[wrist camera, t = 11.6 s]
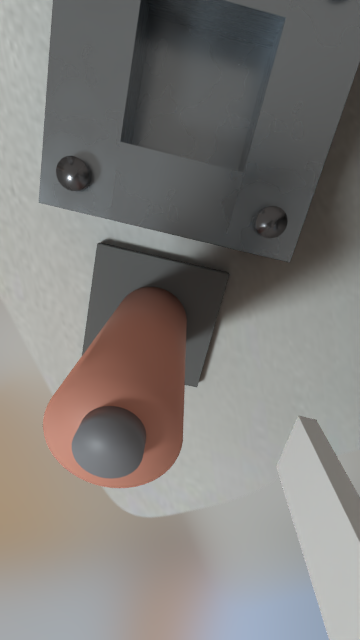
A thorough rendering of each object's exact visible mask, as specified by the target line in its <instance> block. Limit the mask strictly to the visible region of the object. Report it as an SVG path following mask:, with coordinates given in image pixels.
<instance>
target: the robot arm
mask: <svg viewBox="0 0 360 640" xmlns="http://www.w3.org/2000/svg"><path fill="white" fill-rule="evenodd" d="M276 467H277V471H278V474H279V477H280V480H281V483H282V487H283V490H284V494H285V497H286V500H287V503H288V507H289V510H290V513H291V516H292V520H293V523H294V526H295V529H296V533H297V536H298V539H299V542H300V546H301V549H302V552H303V556H304V559H305V562H306V565H307V568H308V572H309V575H310V578H311V582H312V585H313V588H314V591H315V595H316V598H317V601H318V604H319V608H320V611H321V614H322V617H323V621H324V624H325V627H326V631H327V634H328V637H329V640H360V497H359V495H358V493H357V492H356V490H355V488H354V486H353V485H352V483H351V481H350V479H349V477H348V476H347V474H346V472H345V470H344V469H343V467H342V465H341V463H340V461H339V460H338V458H337V456H336V454H335V452H334V451H333V449H332V447H331V445H330V444H329V442H328V440H327V438H326V436H325V435H324V433H323V431H322V429H321V427H320V426H319V424H318V422H317V420H315V419H311V418H306V417H302V416H298V417H297V420H296V422H295V424H294V427H293V429H292V431H291V434H290V436H289V438H288V441H287V443H286V445H285V448H284V450H283V452H282V455H281V457H280V459H279V462H278V464H277V466H276Z"/></svg>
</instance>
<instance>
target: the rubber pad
mask: <svg viewBox="0 0 360 640" xmlns="http://www.w3.org/2000/svg"><path fill="white" fill-rule="evenodd" d="M228 277H229V273H227V272H223V271H218V270H214V269H210V268H205V267H201V266H197V265H193V264H188V263H184V262H180V261H176V260H171V259H167V258H163V257H159V256H154V255H150V254H146V253H141V252H137V251H133V250H129V249H124V248H120V247H116V246H112V245H107V244H103V243H98V244H97V250H96V257H95V264H94V272H93V279H92V287H91V294H90V301H89V309H88V316H87V323H86V331H85V338H84V345H83V353H82V356H83V354H84V353H85V351H86V350H87V349H88V347H89V346H90V345H91V343H92V342H93V340H94V339H95V338H96V336H97V335H98V334H99V332H100V331H101V329H102V328H103V327H104V325H105V324H106V323H107V321H108V320H109V319H110V317H111V316H112V314H113V313H114V312H115V310H116V309H117V308H118V306H119V305H120V303H121V302H122V301H123V299H124V298H125V297H126V296H127V295H128V294H130V293H131V292H133V291H135V290H137V289H139V288H144V287H157V288H161V289H164V290H166V291H168V292H170V293H172V294H173V295H174V296H176V298H177V299H178V300H179V301H180V302H181V304H182V305H183V307H184V310H185V313H186V318H187V327H186V357H185V385H189V386H193V387H197V386H198V382H199V379H200V375H201V372H202V368H203V365H204V361H205V358H206V354H207V351H208V347H209V344H210V340H211V337H212V333H213V330H214V326H215V323H216V319H217V316H218V312H219V309H220V305H221V302H222V298H223V295H224V291H225V288H226V284H227V281H228Z"/></svg>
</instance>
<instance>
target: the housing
mask: <svg viewBox="0 0 360 640" xmlns="http://www.w3.org/2000/svg"><path fill="white" fill-rule="evenodd" d="M359 62H360V0H53V9H52V23H51V37H50V51H49V65H48V79H47V93H46V107H45V121H44V136H43V150H42V164H41V178H40V192H39V203H42V204H47V205H51V206H55V207H59V208H63V209H68V210H72V211H76V212H80V213H84V214H89V215H93V216H97V217H101V218H105V219H110V220H114V221H118V222H122V223H126V224H130V225H135V226H139V227H143V228H147V229H151V230H156V231H160V232H164V233H168V234H172V235H177V236H181V237H185V238H189V239H193V240H198V241H202V242H206V243H210V244H214V245H219V246H223V247H227V248H231V249H235V250H239V251H244V252H248V253H252V254H256V255H260V256H265V257H269V258H273V259H277V260H281V261H286V262H290V261H291V258H292V255H293V252H294V249H295V246H296V244H297V241H298V238H299V235H300V232H301V229H302V226H303V223H304V221H305V218H306V215H307V212H308V209H309V206H310V203H311V200H312V198H313V195H314V192H315V189H316V186H317V183H318V180H319V177H320V175H321V172H322V169H323V166H324V163H325V160H326V157H327V154H328V152H329V149H330V146H331V143H332V140H333V137H334V134H335V131H336V129H337V126H338V123H339V120H340V117H341V114H342V111H343V108H344V106H345V103H346V100H347V97H348V94H349V91H350V88H351V85H352V82H353V80H354V77H355V74H356V71H357V68H358V65H359Z"/></svg>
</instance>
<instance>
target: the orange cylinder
mask: <svg viewBox="0 0 360 640" xmlns="http://www.w3.org/2000/svg"><path fill="white" fill-rule="evenodd" d="M186 327H187V318H186V313H185V310H184V307H183V305H182V304H181V302H180V301H179V300H178V299H177V298H176V296H174V295H173V294H172V293H170V292H168V291H166V290H164V289H161V288H157V287H144V288H139V289H137V290H135V291H133V292H131V293H130V294H128V295H127V296H126V297H125V298H124V299H123V301H122V302H121V303H120V305H119V306H118V308H117V309H116V310H115V312H114V313H113V314H112V316H111V317H110V319H109V320H108V321H107V323H106V324H105V325H104V327H103V328H102V329H101V331H100V332H99V334H98V335H97V336H96V338H95V339H94V340H93V342H92V343H91V345H90V346H89V347H88V349H87V350H86V351H85V353H84V354H83V356H82V357H81V358H80V360H79V361H78V362H77V364H76V365H75V366H74V368H73V369H72V371H71V372H70V373H69V375H68V376H67V377H66V379H65V380H64V382H63V383H62V384H61V386H60V387H59V388H58V390H57V391H56V392H55V394H54V395H53V397H52V398H51V400H50V402H49V403H48V405H47V408H46V411H45V414H44V419H43V429H44V435H45V439H46V443H47V445H48V447H49V449H50V451H51V452H52V454H53V456H54V457H55V458H56V459H57V461H58V462H59V463H60V464H61V465H62V466H63V467H64V468H65V469H67V470H68V471H69V472H71V473H72V474H74V475H75V476H77V477H79V478H81V479H83V480H85V481H87V482H90V483H92V484H96V485H99V486H104V487H110V488H129V487H135V486H139V485H143V484H146V483H149V482H151V481H153V480H155V479H157V478H159V477H160V476H161V475H163V474H164V473H165V472H166V471H167V470H168V469H170V467H171V466H172V465H173V464H174V462H175V461H176V459H177V457H178V456H179V453H180V450H181V447H182V442H183V416H184V386H185V357H186Z"/></svg>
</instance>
